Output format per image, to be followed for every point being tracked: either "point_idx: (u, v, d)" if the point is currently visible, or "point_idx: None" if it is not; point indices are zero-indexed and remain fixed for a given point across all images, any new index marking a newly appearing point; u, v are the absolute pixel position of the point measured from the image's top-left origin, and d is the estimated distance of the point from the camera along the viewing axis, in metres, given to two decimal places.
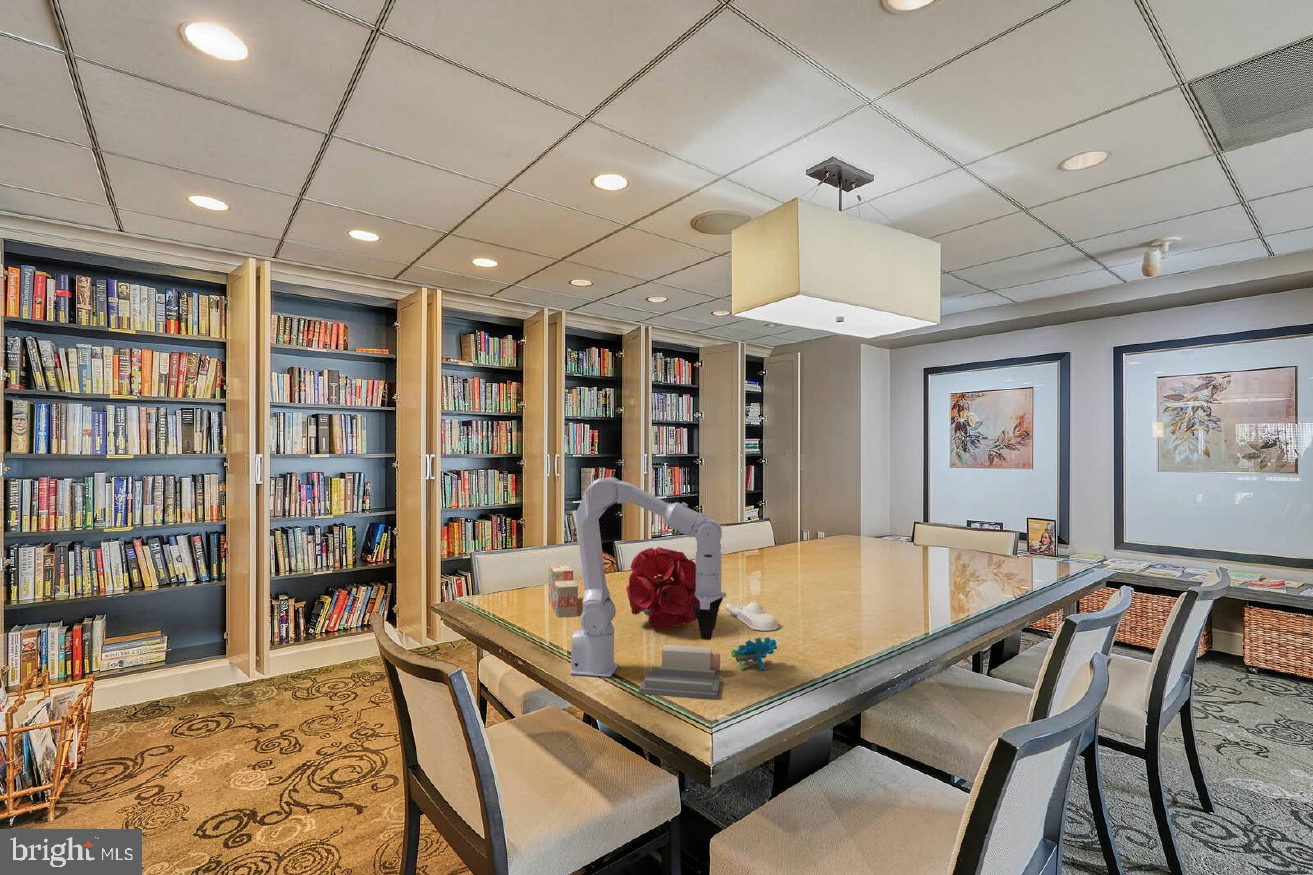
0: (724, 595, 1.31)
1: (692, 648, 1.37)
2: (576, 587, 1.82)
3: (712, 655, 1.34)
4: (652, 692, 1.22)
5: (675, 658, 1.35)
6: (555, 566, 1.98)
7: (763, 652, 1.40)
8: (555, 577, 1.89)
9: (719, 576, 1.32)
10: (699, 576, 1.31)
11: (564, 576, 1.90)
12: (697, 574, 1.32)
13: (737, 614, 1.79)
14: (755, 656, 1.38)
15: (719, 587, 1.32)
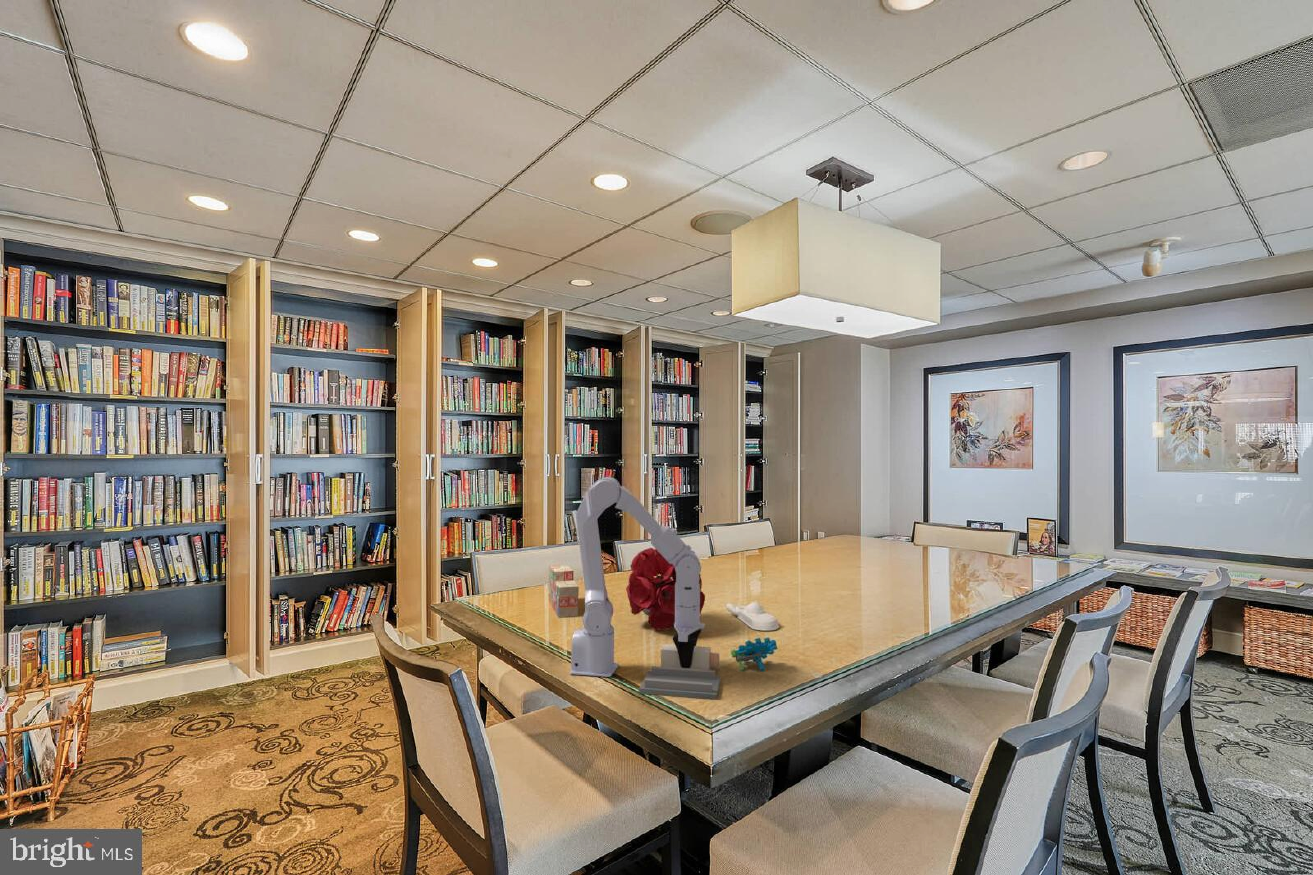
0: (702, 626, 1.35)
1: None
2: (577, 587, 1.82)
3: (711, 654, 1.35)
4: (652, 692, 1.22)
5: (674, 657, 1.35)
6: (555, 566, 1.97)
7: (763, 652, 1.40)
8: (555, 577, 1.89)
9: (697, 608, 1.35)
10: (678, 608, 1.35)
11: (564, 576, 1.90)
12: (676, 606, 1.35)
13: (738, 614, 1.79)
14: (754, 657, 1.38)
15: (697, 618, 1.35)
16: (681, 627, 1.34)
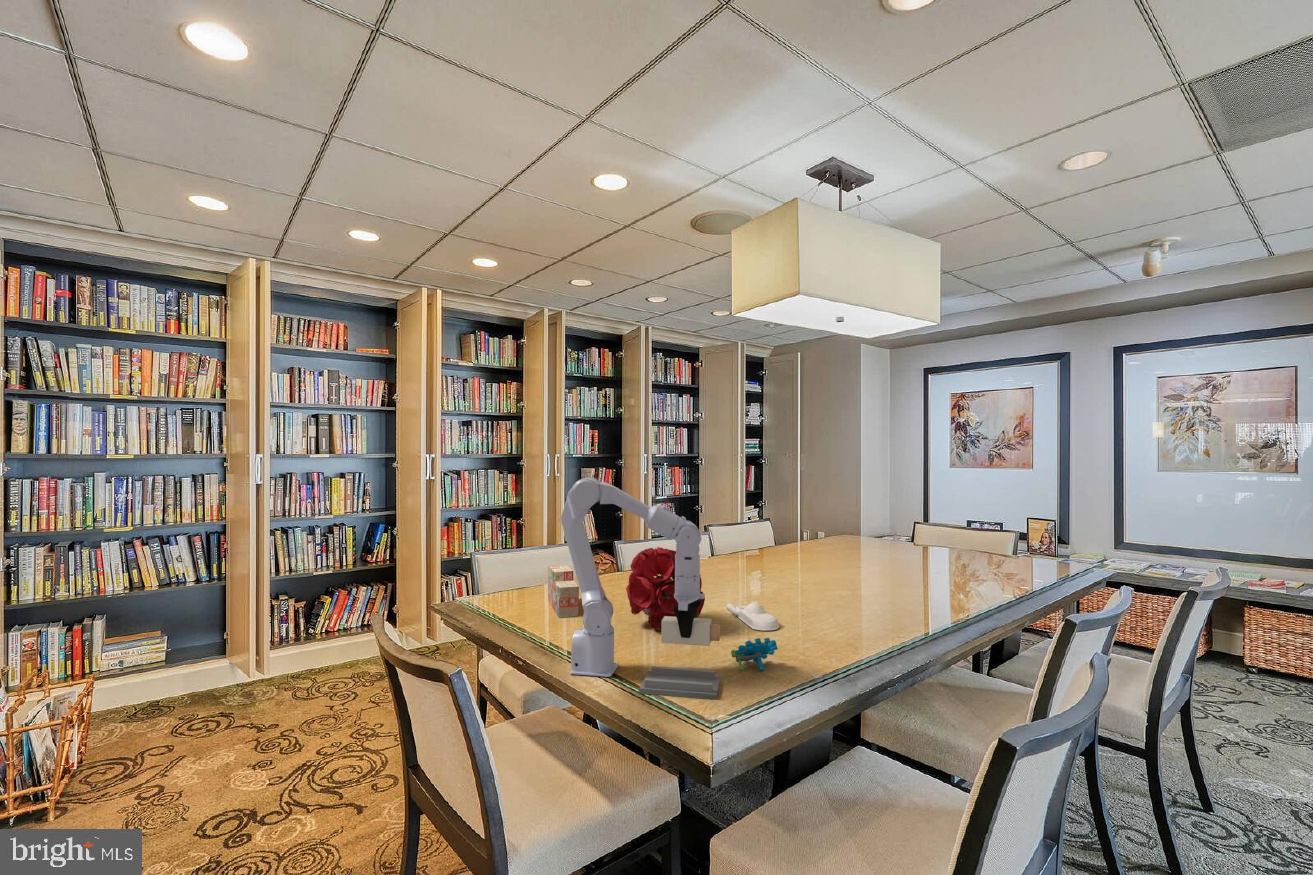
0: (702, 596, 1.35)
1: None
2: (577, 587, 1.82)
3: (712, 625, 1.35)
4: (652, 692, 1.22)
5: (675, 628, 1.35)
6: None
7: (763, 653, 1.40)
8: (555, 577, 1.88)
9: (697, 578, 1.35)
10: (678, 578, 1.35)
11: (564, 576, 1.89)
12: (676, 576, 1.35)
13: (738, 614, 1.79)
14: (754, 657, 1.38)
15: (697, 589, 1.35)
16: (681, 597, 1.34)
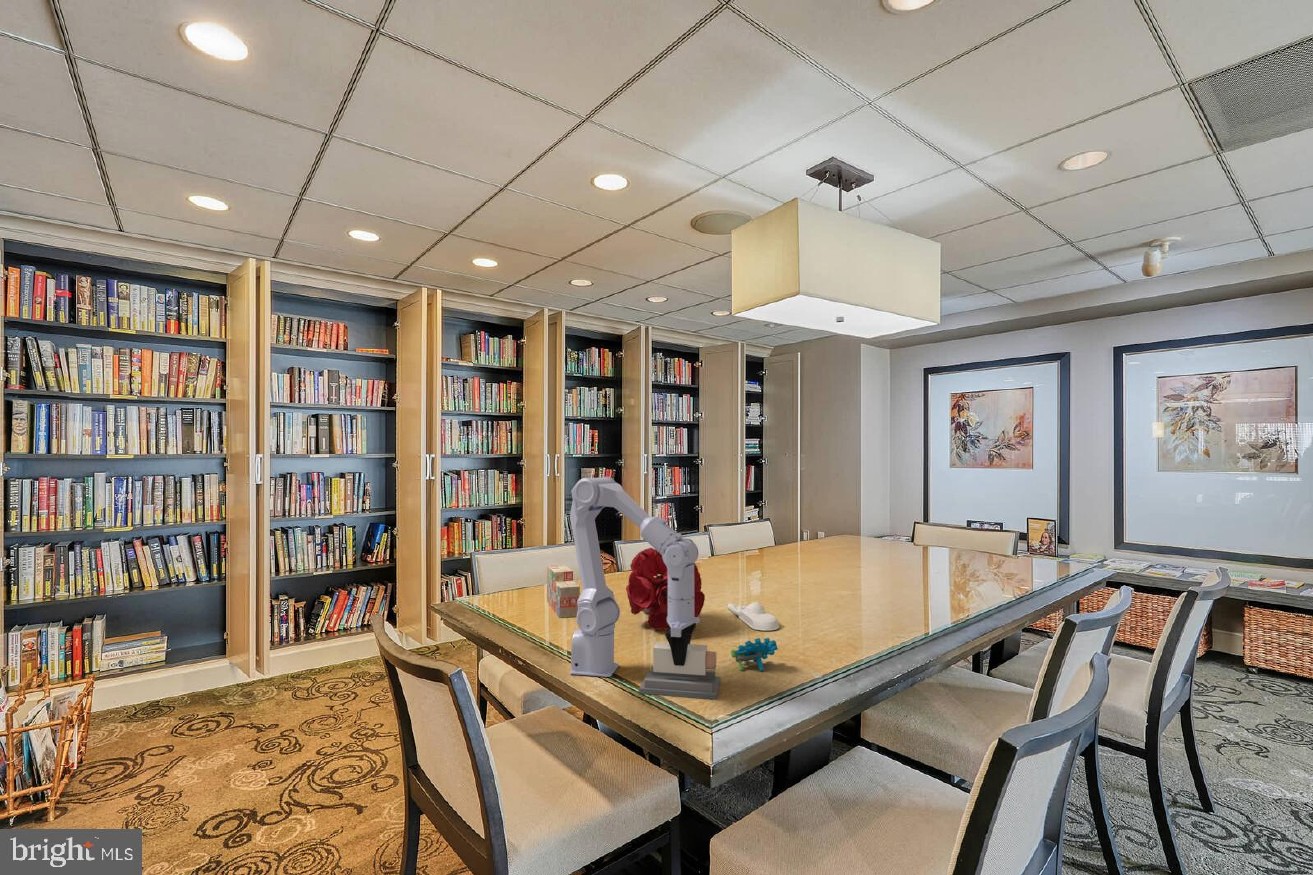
0: (697, 620, 1.25)
1: None
2: (578, 587, 1.82)
3: (707, 653, 1.25)
4: (652, 692, 1.22)
5: (668, 656, 1.25)
6: (554, 567, 1.96)
7: (763, 653, 1.40)
8: (555, 578, 1.88)
9: (692, 600, 1.25)
10: (671, 601, 1.25)
11: (564, 576, 1.89)
12: (669, 599, 1.26)
13: (739, 614, 1.79)
14: (754, 657, 1.37)
15: (692, 612, 1.25)
16: (674, 621, 1.24)
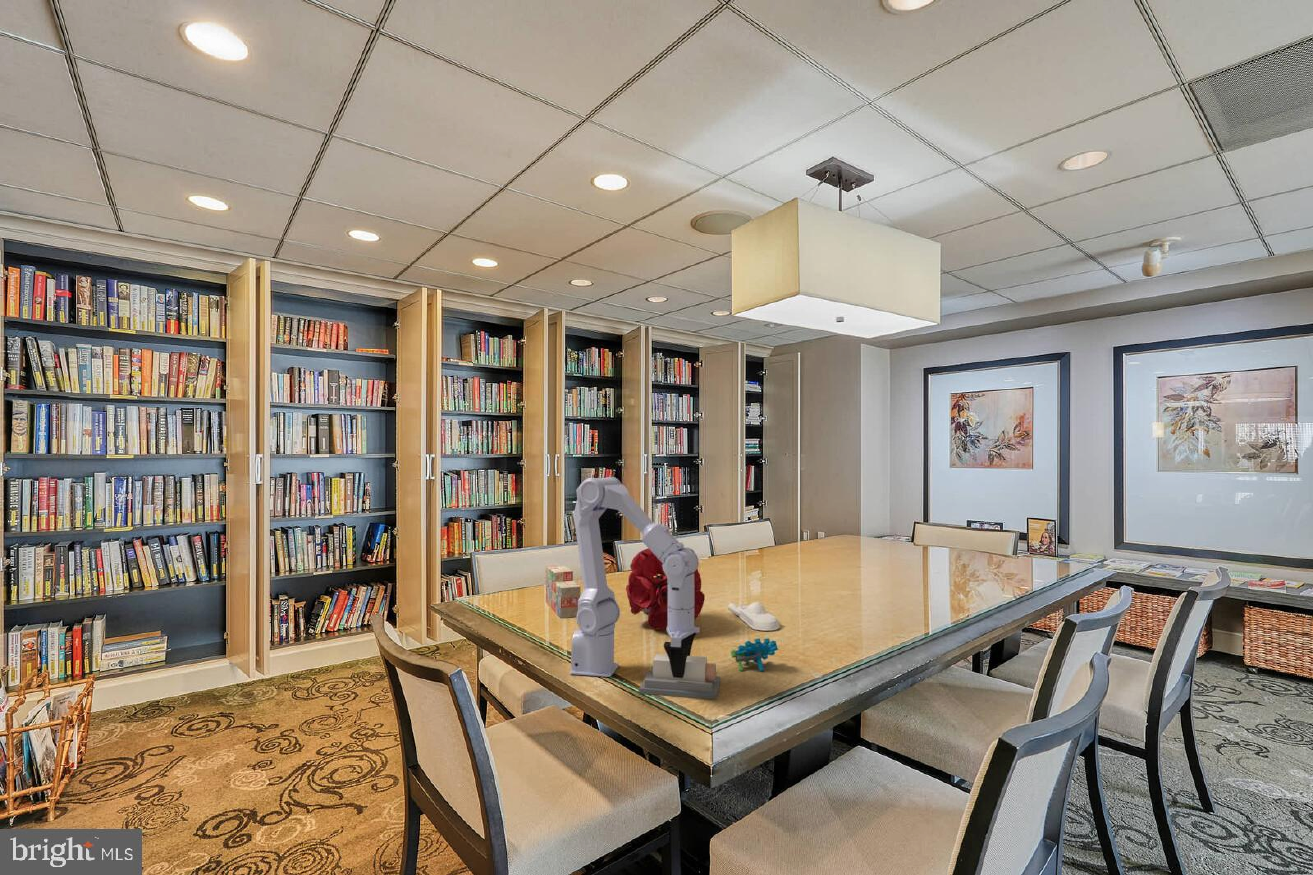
0: (697, 630, 1.25)
1: None
2: (579, 587, 1.81)
3: (707, 665, 1.25)
4: (652, 692, 1.22)
5: (667, 668, 1.25)
6: (553, 567, 1.96)
7: (764, 653, 1.39)
8: (555, 578, 1.88)
9: (692, 610, 1.25)
10: (671, 610, 1.25)
11: (564, 577, 1.89)
12: (669, 608, 1.26)
13: (739, 614, 1.79)
14: (754, 657, 1.37)
15: (692, 622, 1.25)
16: (674, 631, 1.24)
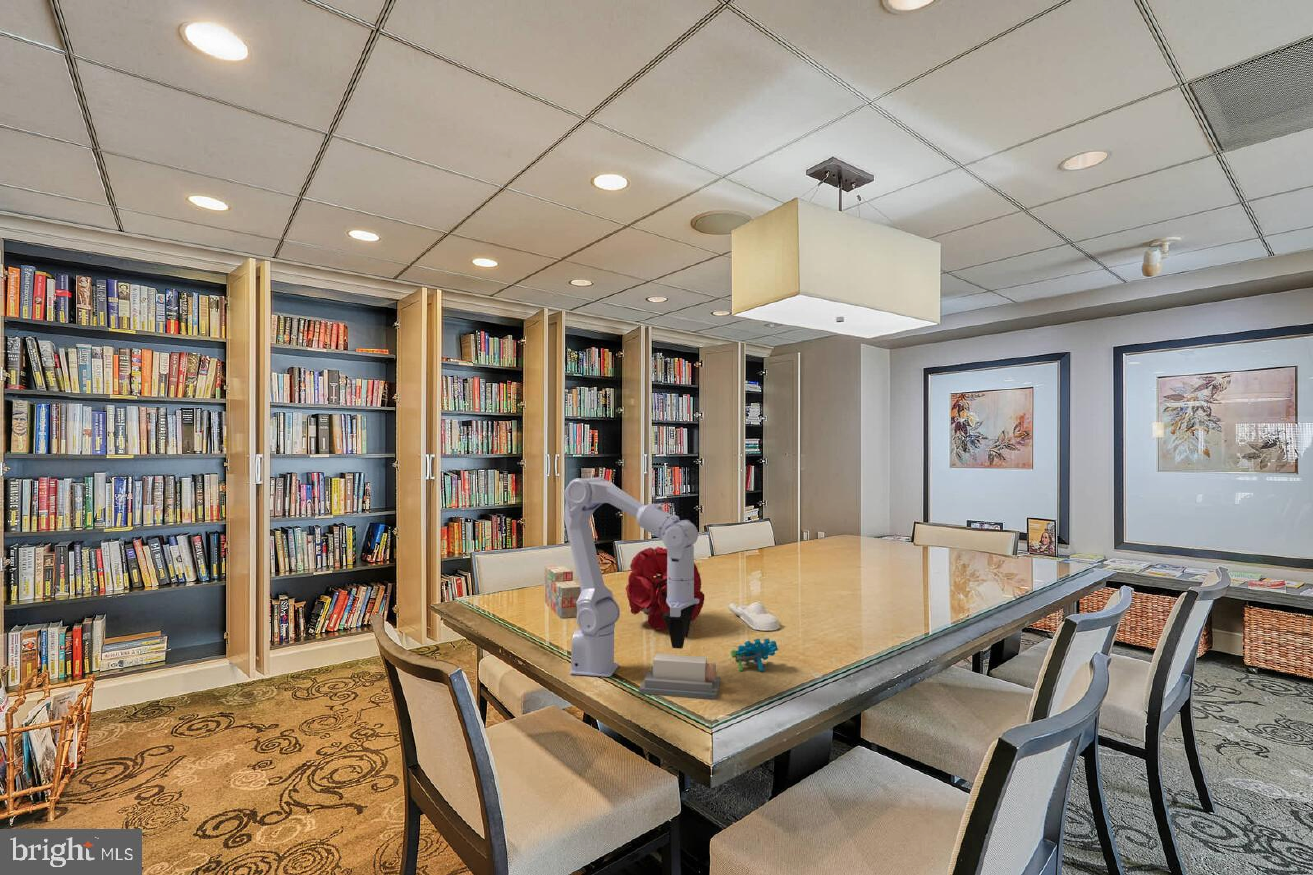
0: (696, 601, 1.25)
1: (686, 657, 1.27)
2: (579, 587, 1.81)
3: (707, 665, 1.25)
4: (652, 692, 1.22)
5: (667, 668, 1.25)
6: (552, 567, 1.96)
7: (764, 653, 1.39)
8: (555, 578, 1.87)
9: (691, 581, 1.26)
10: (670, 582, 1.25)
11: (564, 577, 1.89)
12: (668, 579, 1.26)
13: (740, 614, 1.79)
14: (754, 657, 1.37)
15: (691, 593, 1.26)
16: (674, 602, 1.25)
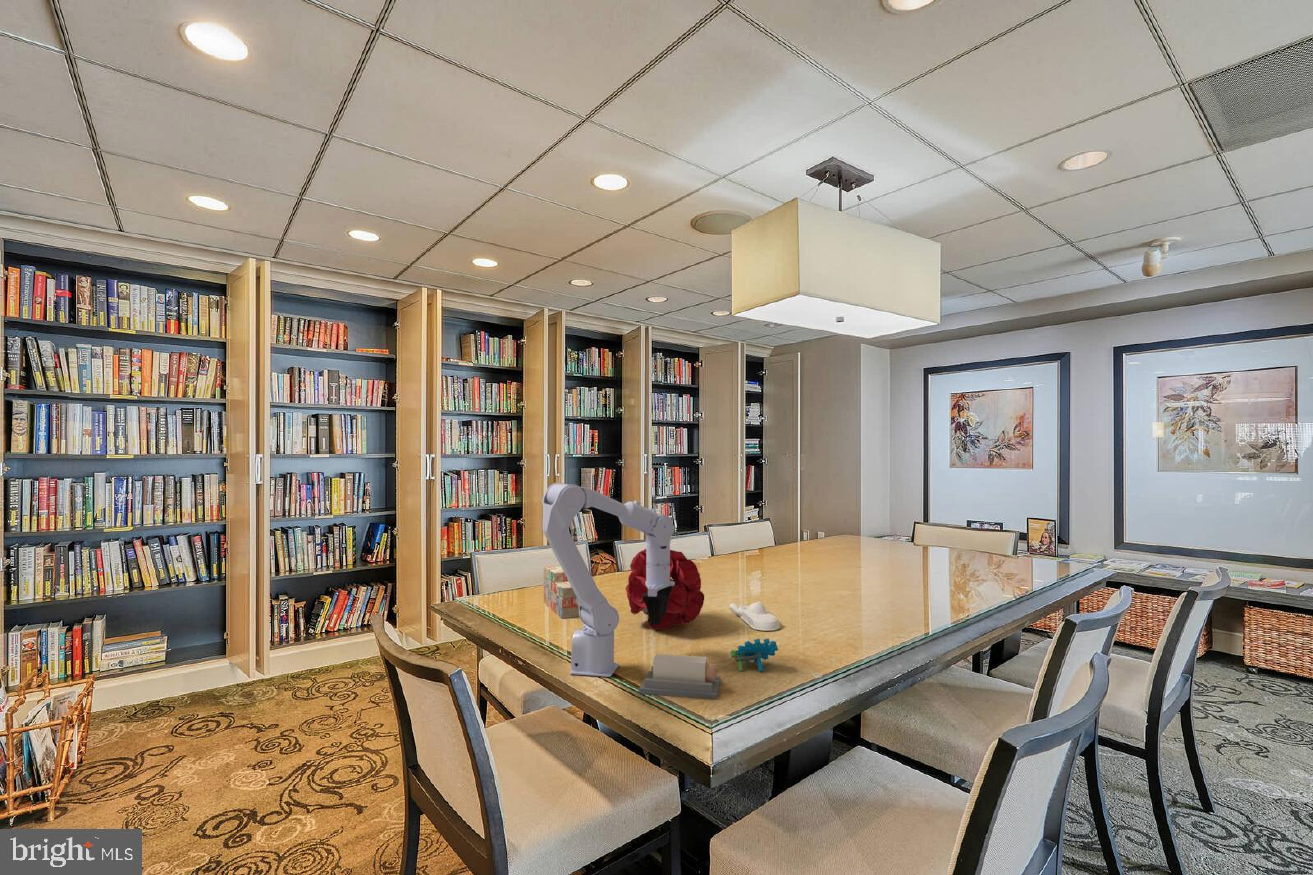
0: (672, 584, 1.42)
1: (686, 657, 1.27)
2: None
3: (707, 665, 1.25)
4: (652, 692, 1.22)
5: (667, 668, 1.25)
6: (551, 567, 1.95)
7: (764, 653, 1.39)
8: (555, 578, 1.87)
9: (667, 566, 1.42)
10: (649, 566, 1.42)
11: (564, 577, 1.89)
12: (647, 564, 1.43)
13: (740, 614, 1.79)
14: (754, 658, 1.37)
15: (667, 576, 1.42)
16: (651, 584, 1.41)
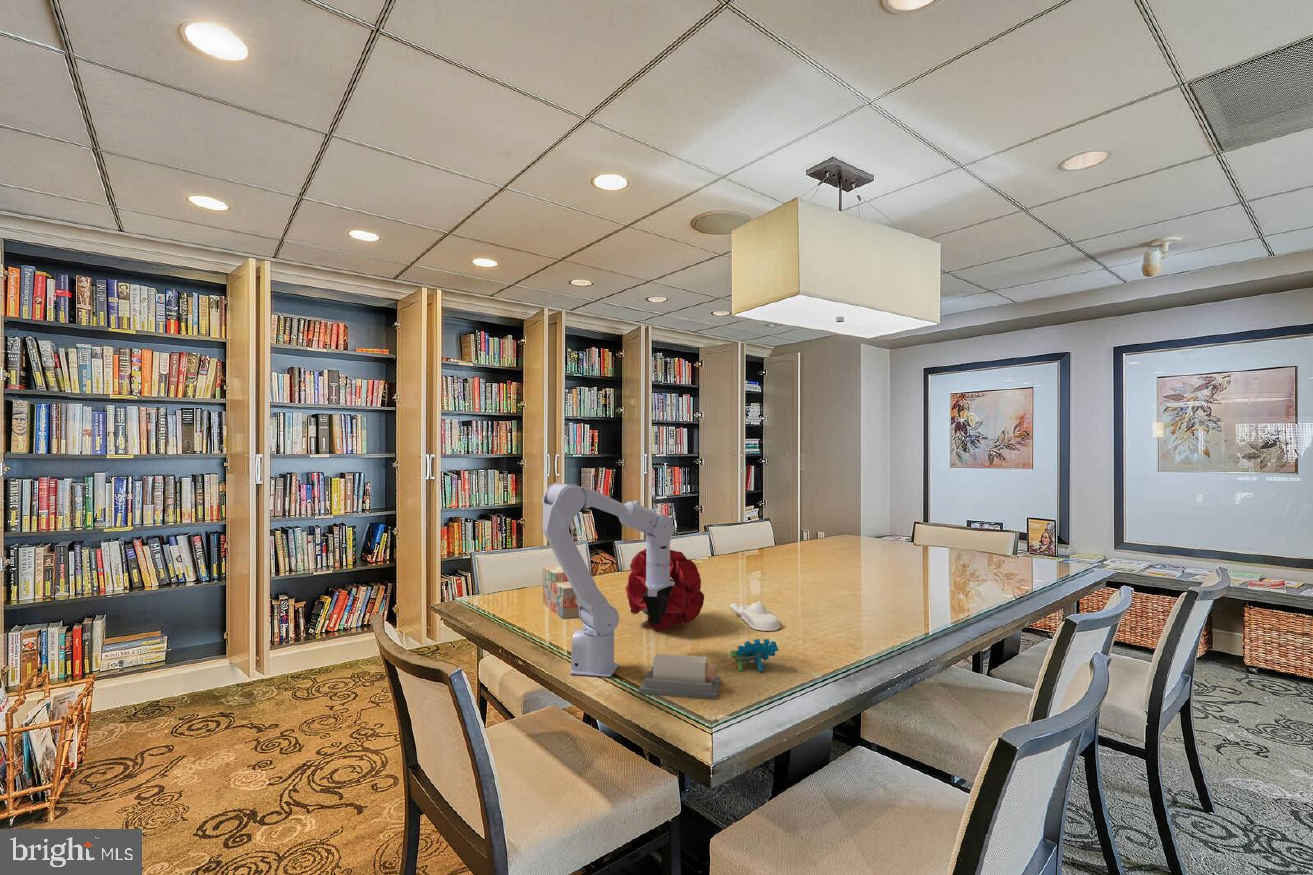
0: (672, 584, 1.42)
1: (686, 657, 1.27)
2: None
3: (707, 665, 1.25)
4: (652, 692, 1.22)
5: (667, 668, 1.25)
6: (551, 567, 1.95)
7: (764, 654, 1.39)
8: (555, 578, 1.87)
9: (667, 566, 1.42)
10: (649, 566, 1.42)
11: (564, 577, 1.88)
12: (647, 564, 1.43)
13: (741, 614, 1.79)
14: (754, 658, 1.37)
15: (667, 576, 1.42)
16: (651, 584, 1.41)
